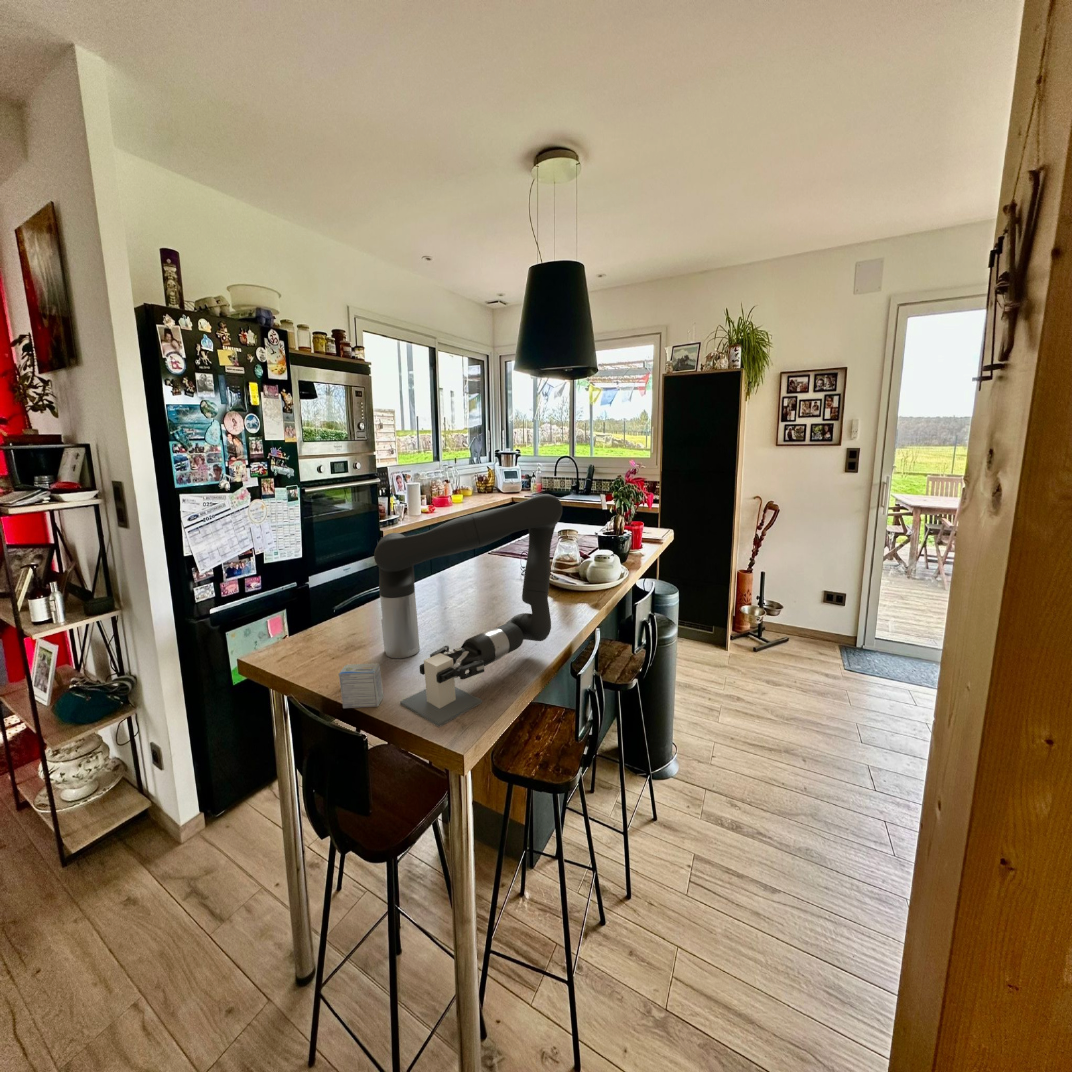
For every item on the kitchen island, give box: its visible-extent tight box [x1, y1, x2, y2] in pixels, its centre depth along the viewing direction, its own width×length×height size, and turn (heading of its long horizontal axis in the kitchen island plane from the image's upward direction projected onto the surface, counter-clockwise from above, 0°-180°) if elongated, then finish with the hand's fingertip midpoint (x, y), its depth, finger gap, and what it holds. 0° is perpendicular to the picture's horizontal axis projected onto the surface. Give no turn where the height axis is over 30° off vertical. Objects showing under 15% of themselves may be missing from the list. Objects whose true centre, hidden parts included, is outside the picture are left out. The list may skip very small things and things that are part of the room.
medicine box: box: [338, 662, 384, 709], centre depth 110 cm, size 8×4×9 cm, turn 92°
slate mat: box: [399, 686, 483, 728], centre depth 109 cm, size 14×12×1 cm
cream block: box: [423, 653, 456, 708], centre depth 108 cm, size 4×4×10 cm
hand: (429, 674), depth 106 cm, fingers open, 5 cm apart
